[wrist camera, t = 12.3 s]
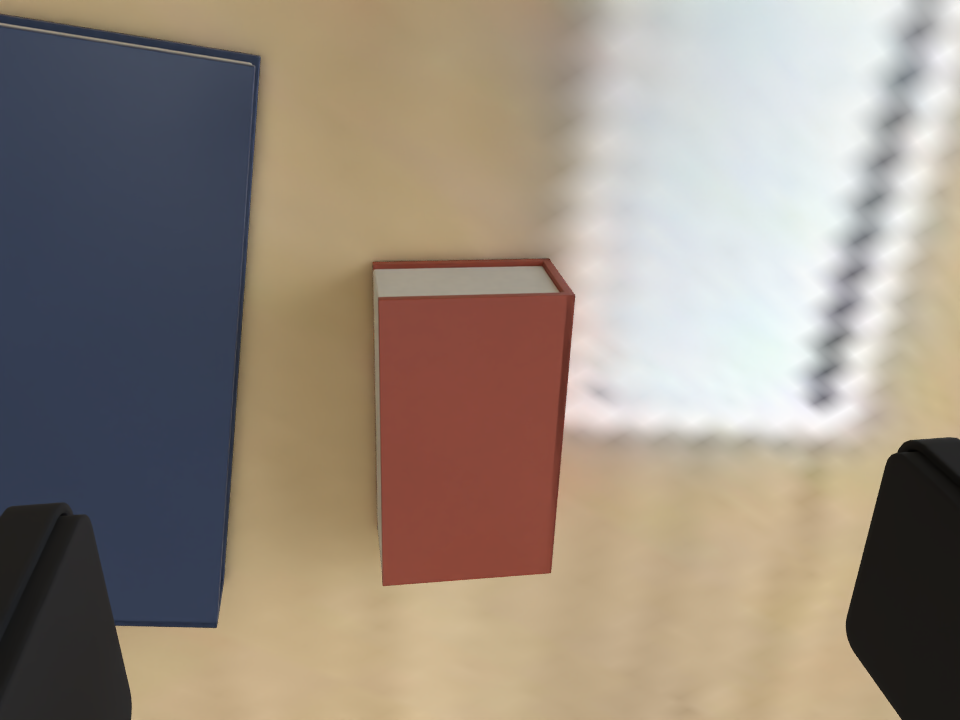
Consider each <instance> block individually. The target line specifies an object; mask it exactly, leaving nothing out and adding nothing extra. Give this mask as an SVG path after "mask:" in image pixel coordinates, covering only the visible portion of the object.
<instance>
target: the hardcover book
mask: <svg viewBox="0 0 960 720" xmlns="http://www.w3.org/2000/svg"><path fill="white" fill-rule="evenodd" d="M260 59H261V57H260V56H259V55H253V54H247V53H241V52H234V51H228V50H222V49H216V48H209V47H203V46H197V45H191V44H185V43H178V42H172V41H166V40H160V39H154V38H147V37H141V36H135V35H129V34H123V33H116V32H110V31H104V30H98V29H92V28H85V27H79V26H73V25H67V24H61V23H54V22H48V21H42V20H36V19H29V18H23V17H17V16H11V15H5V14H0V517H1V515H2V514H3V512H4V511H5V510H6V509H7V508H8V507H11V506H20V505H34V504H47V503H61V502H65V503H67V504H68V505H69V506H70V508H71V509H72V512H73V515H80V514H85V515H87V516H88V517H89V519H90V521H91V524H92V527H93V532H94V536H95V540H96V545H97V549H98V553H99V558H100V562H101V566H102V571H103V575H104V579H105V584H106V588H107V592H108V597H109V601H110V605H111V610H112V614H113V619H114V623H115V626H154V627H197V628H217V624H218V617H219V611H220V604H221V598H222V591H223V585H224V574H225V559H226V545H227V531H228V516H229V502H230V488H231V474H232V459H233V445H234V431H235V416H236V402H237V388H238V373H239V359H240V345H241V331H242V316H243V302H244V288H245V273H246V259H247V245H248V231H249V216H250V202H251V188H252V173H253V159H254V145H255V130H256V116H257V102H258V88H259V73H260Z"/></svg>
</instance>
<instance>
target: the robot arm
mask: <svg viewBox="0 0 960 720" xmlns="http://www.w3.org/2000/svg"><path fill="white" fill-rule="evenodd" d="M846 633H847V637H848V641H849V643H850V646H851V648H852V650H853V651H854V653H855V654H856V656H857V657H858V659H859V660H860V661H861V663H862V664H863V666H864V667H865V668H866V670H867V671H868V673H869V674H870V676H871V677H872V678H873V680H874V681H875V683H876V684H877V685H878V687H879V688H880V690H881V691H882V692H883V694H884V695H885V697H886V698H887V699H888V701H889V702H890V704H891V705H892V707H893V708H894V709H895V711H896V712H897V714H898V715H899V716H900V718H901V719H902V720H960V440H959V439H958V438H951V437H947V438H934V439H920V440H909V441H907V442H905V443H903V444H902V446H901V447H900V448H899V450H898V452H897V453H895V454H893V455H891V456H890V457H889V458H888V460H887V463H886V466H885V470H884V473H883V477H882V481H881V485H880V489H879V493H878V497H877V501H876V505H875V509H874V513H873V517H872V520H871V524H870V528H869V532H868V536H867V540H866V544H865V548H864V552H863V556H862V560H861V564H860V568H859V571H858V575H857V579H856V583H855V587H854V591H853V595H852V599H851V603H850V607H849V611H848V615H847V619H846ZM131 710H132V703H131V693H130V688H129V684H128V679H127V675H126V671H125V666H124V662H123V658H122V653H121V649H120V645H119V640H118V636H117V632H116V627H115V623H114V619H113V614H112V610H111V605H110V601H109V597H108V592H107V588H106V584H105V579H104V575H103V571H102V566H101V562H100V558H99V553H98V549H97V545H96V540H95V536H94V532H93V527H92V524H91V521H90V519H89V517H88V516H87V515H85V514H80V515H73V512H72V509H71V508H70V506H69V505H68V504H67V503H65V502H61V503H47V504H34V505H20V506H11V507H8V508H7V509H6V510H5V511H4V512H3V514H2V515H1V517H0V720H131Z"/></svg>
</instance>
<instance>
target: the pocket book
mask: <svg viewBox="0 0 960 720" xmlns="http://www.w3.org/2000/svg"><path fill="white" fill-rule="evenodd" d="M574 303H575V294H574V293H573V292H572V290H571V289H570V287H569V286H568V285H567V283H566V282H565V280H564V279H563V278H562V276H561V275H560V273H559V272H558V270H557V269H556V268H555V266H554V265H553V263H552V262H551V261H550V259H503V260H448V261H394V262H373V314H374V370H375V426H376V483H377V529H378V537H379V547H380V558H381V569H382V583H383V586H389V585H402V584H415V583H428V582H441V581H454V580H467V579H480V578H493V577H507V576H520V575H533V574H546V573H551V567H552V555H553V544H554V532H555V521H556V509H557V498H558V487H559V475H560V464H561V452H562V441H563V429H564V418H565V406H566V395H567V383H568V372H569V360H570V349H571V338H572V326H573V315H574Z"/></svg>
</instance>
